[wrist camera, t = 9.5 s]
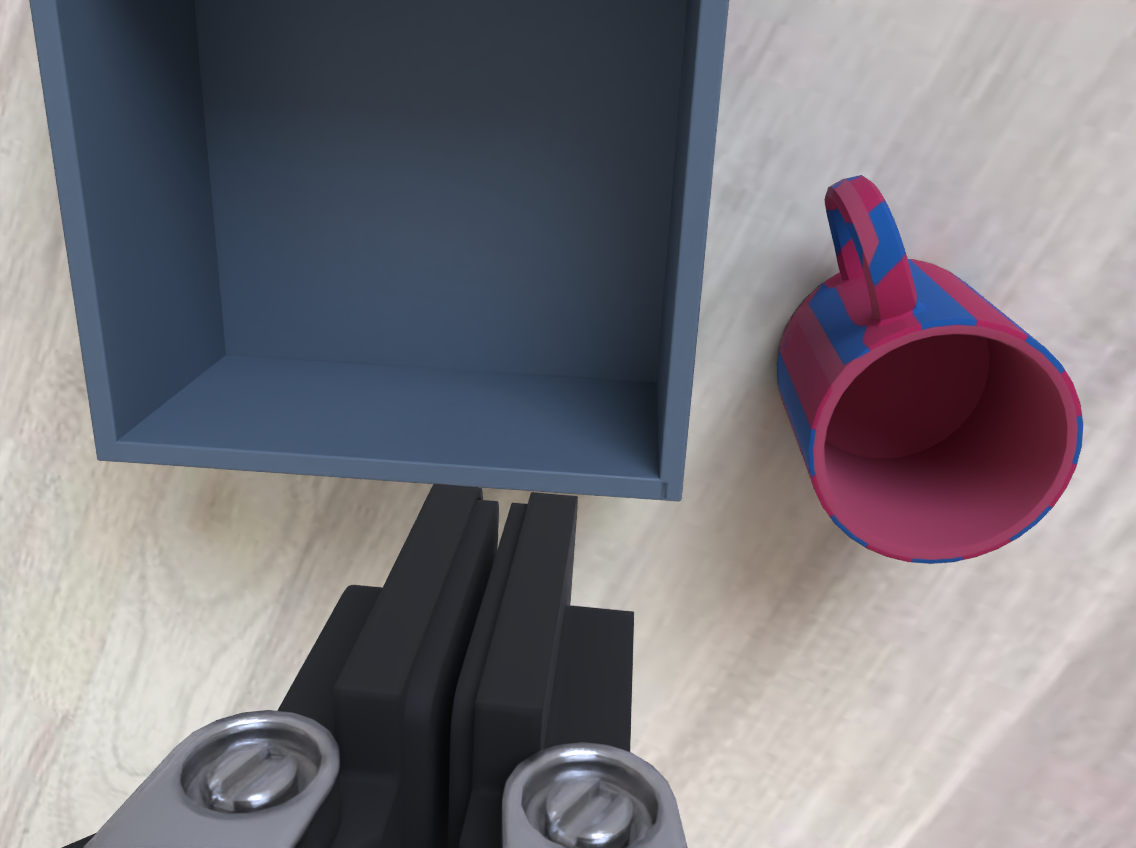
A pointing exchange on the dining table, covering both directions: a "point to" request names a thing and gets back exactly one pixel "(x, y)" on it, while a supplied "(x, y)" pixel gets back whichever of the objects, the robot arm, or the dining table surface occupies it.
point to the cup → (921, 399)
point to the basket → (389, 233)
